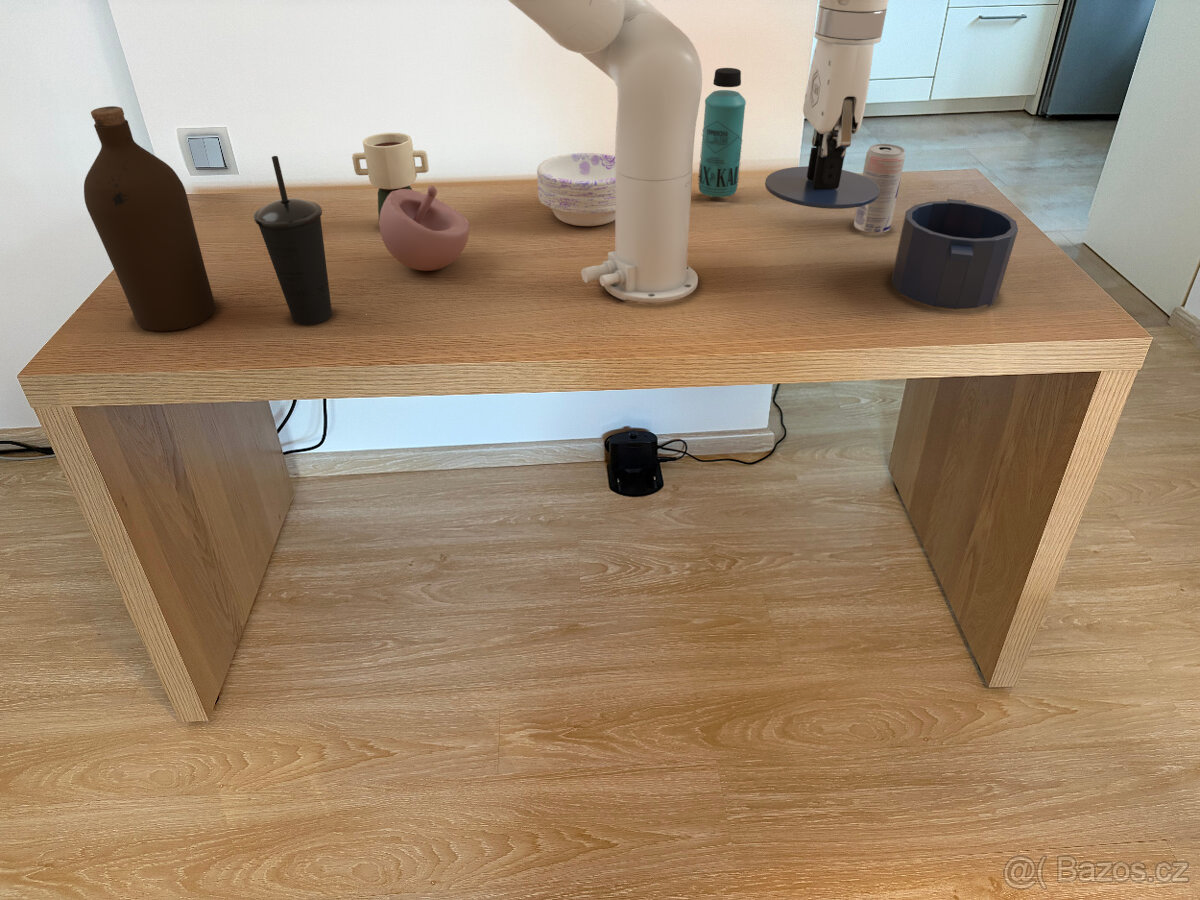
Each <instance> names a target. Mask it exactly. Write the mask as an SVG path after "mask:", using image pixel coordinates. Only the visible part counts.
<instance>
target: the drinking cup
mask: <svg viewBox="0 0 1200 900" xmlns="http://www.w3.org/2000/svg"><path fill="white" fill-rule="evenodd" d="M271 161H272V165H273V169H274V174H275V177H276V182H277V187H278V190H279V193H280V198H281V199H277V200H274V201H272V202H270V203H268V204H266V205H263V206H262V207H260V208H259V209H257V210H256V211H255V212H254V214H253V220H254V222H255V224H256V225H257V226H258V227H259V228H258V229H259V230H260V233H261V235H262V239H263V241H264V244H265V247H266V249H267V253H268V256H269V258H270V261H271V263H272V266H273V269H274V272H275V274H276V277H277V281H278V282H279V286H280V288H281V291H282V295H283V296H284V299H285V302H286V305H287V307H288V311H289V313H290V316H291V318H292V320H293V322H294V323H295V324H297V325H301V326H313V325H319V324H322V323H325V322H326V321H328V320H329V319H330V318H331V317H332V316H333V310H332V302H331V301H332V300H331V293H330V284H329V277H328V268H327V259H326V252H325V251H326V250H325V242H324V235H323V234H324V233H323V226H322V217H321V216H322V215H323V208H322V206H321V205H320V204H319V203H317V202H315V201H311V200H305V199H301V198H288V194H287V189H286V185H285V181H284V178H283V173H282V169H281V164H280V160H279V156H278V155H273V156H271Z"/></svg>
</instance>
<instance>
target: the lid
mask: <svg viewBox="0 0 1200 900" xmlns="http://www.w3.org/2000/svg"><path fill="white" fill-rule="evenodd" d="M821 149H822V144H820V145H819V147H818V153H817V157H818V156H821ZM816 163H817V160H816ZM815 169H816V166H815ZM807 172H808V166H793V167H786V168H781V169H778V170H775V171H773V172H771V173H769V174H768V175H767V177H766V178H765V181H764V182H765V183H764V185H765V189H766V190H767V192H769V193H770V194H771V195H773V196H774V197H775V198H778V199H780V200H782V201H785V202H788V203H791V204H794V205H798V206H799V205H800V206H803V207H809V208H817V209H830V210H834V209H835V210H841V209H843V210H844V209H854V208H857V207H860V206H864V205H867V204H870V203H872V202H874V201H875V200H876V199H877V198H878V196H879V192H880V191H879V187H878V185H877V184H876V183H875V182H873V181H872V180H870V179H868V178H866V177H864V176H863V174H862V175H861V174H859V173H856V172H854V171H853V172H852V171H849V170H846V169H842V172H841V178H840V183H839V187H838V188H837V189H815V188H814V187H813V181H814V178H813V180H808V178H807ZM814 175H815V172H814Z"/></svg>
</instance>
